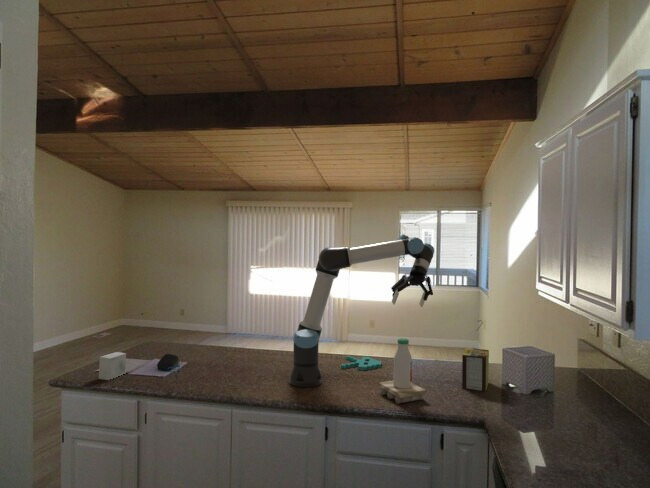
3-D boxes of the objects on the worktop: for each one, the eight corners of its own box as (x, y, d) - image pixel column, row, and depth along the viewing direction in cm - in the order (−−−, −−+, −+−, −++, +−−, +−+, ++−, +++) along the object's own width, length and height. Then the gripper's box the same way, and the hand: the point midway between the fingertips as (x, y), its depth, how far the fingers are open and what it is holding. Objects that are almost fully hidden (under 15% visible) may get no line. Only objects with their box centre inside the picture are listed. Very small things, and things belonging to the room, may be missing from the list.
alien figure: (341, 369, 223) (379, 372, 219) (341, 365, 223) (379, 368, 219) (346, 359, 242) (382, 362, 238) (346, 355, 242) (382, 358, 238)
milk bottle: (407, 390, 177) (408, 342, 177) (390, 387, 181) (391, 339, 181) (414, 385, 183) (415, 338, 183) (397, 382, 187) (398, 336, 187)
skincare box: (109, 380, 198) (109, 358, 198) (98, 379, 200) (98, 356, 200) (126, 374, 208) (126, 352, 208) (115, 372, 210) (116, 351, 210)
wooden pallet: (378, 393, 186) (378, 382, 187) (403, 389, 192) (403, 379, 192) (400, 405, 172) (400, 394, 172) (426, 400, 178) (426, 390, 178)
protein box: (488, 382, 204) (489, 349, 204) (486, 392, 190) (486, 357, 190) (465, 379, 208) (466, 347, 208) (461, 388, 194) (462, 354, 194)
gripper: (446, 276, 204) (435, 311, 192) (398, 273, 218) (384, 306, 206) (442, 265, 200) (431, 301, 187) (393, 263, 214) (379, 296, 201)
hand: (406, 304), depth 196 cm, fingers open, 13 cm apart
